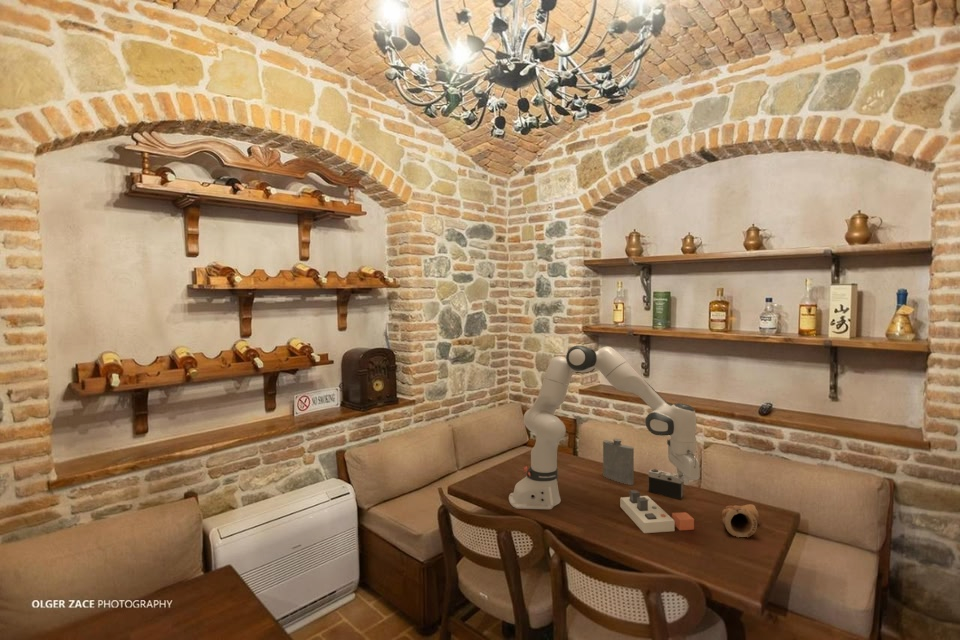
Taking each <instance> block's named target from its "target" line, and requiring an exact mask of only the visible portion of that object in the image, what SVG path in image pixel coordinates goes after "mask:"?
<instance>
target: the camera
mask: <svg viewBox="0 0 960 640" xmlns="http://www.w3.org/2000/svg"><path fill="white" fill-rule="evenodd" d="M648 492H649V493H652V494H655V495H656V494H657V495H660V496H664V497H669V498H673V499H676V500H679V501H681V500H682V498H683V497H684V484H683V481H680V480H679V479H678V473H677V474H676V473H672V472H668V471H663V470H659V469H656V468H651V469H650V470H649V471H648Z"/></svg>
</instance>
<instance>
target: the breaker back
mask: <svg viewBox="0 0 960 640" xmlns="http://www.w3.org/2000/svg"><path fill="white" fill-rule="evenodd" d="M640 496H641V493H640V492H639V491H638V490H637V489H629V497H630V501H631V502H632V503H637V498H638V497H640Z"/></svg>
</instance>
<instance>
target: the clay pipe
mask: <svg viewBox="0 0 960 640" xmlns="http://www.w3.org/2000/svg"><path fill="white" fill-rule="evenodd" d="M721 511H722V512H721V515H722V523H723V524H724V526H725V529H726V530H727V532H728V533H729V534H730V535H731V536H733V537H735V536H736V538H739V537H747V538H750V537H752V535H754V534H755V533H756V531H757V528H758V521H759V517H760V514H759V511H758V510H757V507H756V506H755V505H754V504H752V503H749V504H745V505H736V504H735V505H726V506H725V508H724V509H722V510H721Z"/></svg>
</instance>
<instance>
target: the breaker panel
mask: <svg viewBox="0 0 960 640" xmlns="http://www.w3.org/2000/svg"><path fill="white" fill-rule="evenodd" d="M640 497H645V498H646V499H647V500H648V511H639V510H638V508H637V503H632V502H631V501H630V496H624V497H622V496H621V497H620V500H619V501H620V504H619V505H620V506H619V507H620V508H621V509H622V511H623V512H624V513H625V514H626V515H627V516H628V517H629V518H630V519H631V520H632V521H633V523H634V524H635V525H636V526H637V527H638V528H639V530H640V531H641V532H642V533H644V534H651V533H653V534H654V533H666V532H667V533H668V532H669V533H670V532H675V528H676V526H675V521H674V520H673V519H672V516H670V515H669V514H668V513H667V512H666V511H665V510H664V509H662V507H660V506H659V505H658V504H657V503H656V502H655V501H654V500H652V499H653V498H651V497H649V495H640ZM648 513H653V514H654V515H655V516H656V519H650V520H648V519H647V518H646V517H645V514H648Z"/></svg>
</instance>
